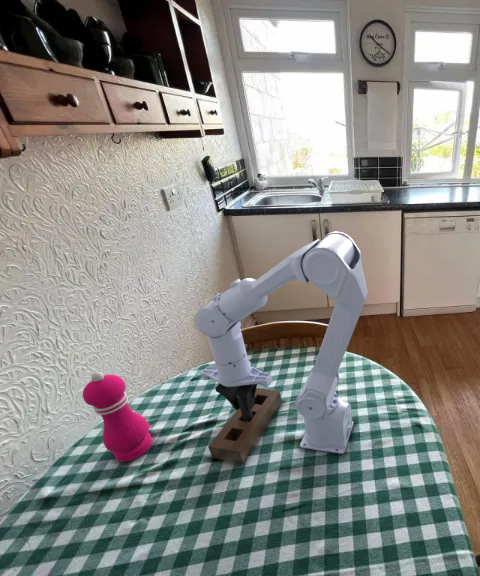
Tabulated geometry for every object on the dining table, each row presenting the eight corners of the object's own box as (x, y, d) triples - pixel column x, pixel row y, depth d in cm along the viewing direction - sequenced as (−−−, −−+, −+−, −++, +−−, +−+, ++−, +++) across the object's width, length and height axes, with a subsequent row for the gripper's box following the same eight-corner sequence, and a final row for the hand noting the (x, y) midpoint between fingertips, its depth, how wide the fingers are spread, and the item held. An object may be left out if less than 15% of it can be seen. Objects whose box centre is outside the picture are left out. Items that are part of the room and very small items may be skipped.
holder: (282, 401, 76) (279, 390, 75) (242, 463, 62) (239, 451, 60) (256, 398, 77) (253, 387, 76) (212, 458, 63) (207, 446, 61)
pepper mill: (133, 467, 61) (91, 389, 53) (103, 461, 62) (57, 384, 54) (163, 436, 67) (130, 362, 59) (136, 431, 69) (99, 358, 60)
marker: (257, 422, 70) (248, 391, 66) (251, 429, 68) (243, 398, 64) (248, 420, 70) (239, 390, 66) (243, 428, 68) (233, 397, 65)
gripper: (274, 347, 63) (285, 397, 69) (211, 340, 66) (226, 389, 72) (255, 369, 57) (268, 423, 63) (186, 361, 60) (205, 413, 65)
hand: (245, 407), depth 67 cm, fingers closed on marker, 2 cm apart
